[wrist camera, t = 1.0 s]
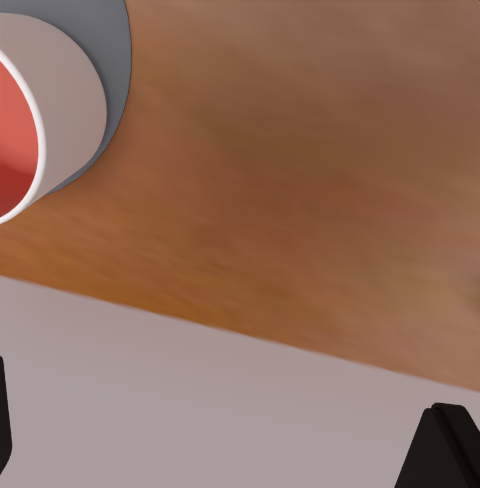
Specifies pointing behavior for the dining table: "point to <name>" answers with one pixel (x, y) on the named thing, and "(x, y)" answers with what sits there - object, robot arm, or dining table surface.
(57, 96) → the cup
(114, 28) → the mat
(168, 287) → the dining table surface
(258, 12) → the dining table surface
